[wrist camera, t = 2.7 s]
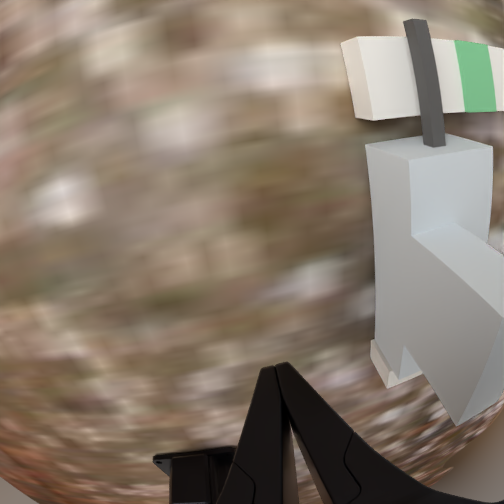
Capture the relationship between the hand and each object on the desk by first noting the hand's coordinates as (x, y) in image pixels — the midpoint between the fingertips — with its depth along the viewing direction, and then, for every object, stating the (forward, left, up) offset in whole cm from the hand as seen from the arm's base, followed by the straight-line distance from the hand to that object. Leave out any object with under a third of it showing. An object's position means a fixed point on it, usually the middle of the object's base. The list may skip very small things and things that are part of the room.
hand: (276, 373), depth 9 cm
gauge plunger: (+2, -7, -4) cm, 9 cm away
